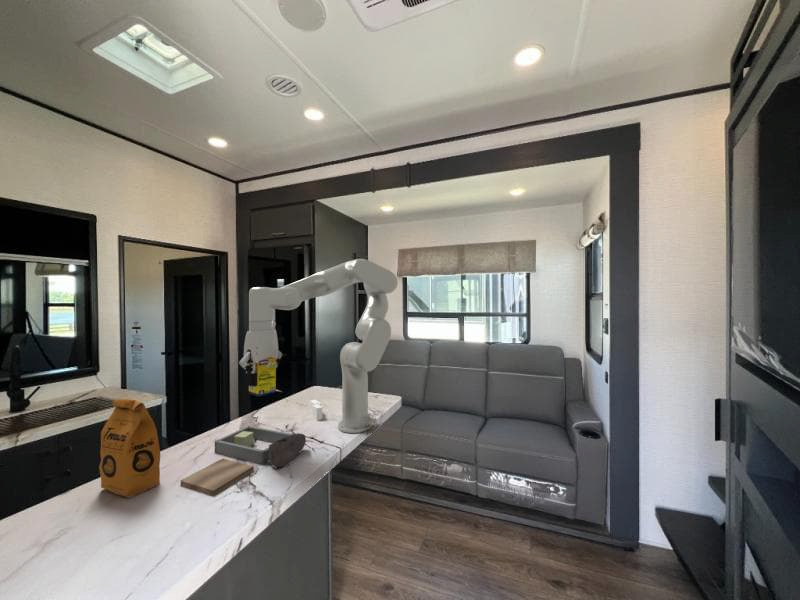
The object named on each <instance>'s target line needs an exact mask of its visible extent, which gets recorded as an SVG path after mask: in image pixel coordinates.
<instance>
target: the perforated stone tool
mask: <svg viewBox="0 0 800 600" xmlns="http://www.w3.org/2000/svg"><path fill="white" fill-rule="evenodd" d="M292 434H293V435H290V436H287V437H284V438H282V439H280V440H277V441H276V442H274V443H273V442H271V444H269V446H268V447H269V458H270V459H271V460H270V466H272V467H274V468H275V469H277V468H280V467H283V466H286V464H287V463H289V462H291V461H292V460H293V459H295V458H296V457H297V456H298V455H299V454H300V453H301V452H302V451H303V449H304V448H305V445H306V441H307V439H306V438H307V437H306V436H305V434H303V433H292Z"/></svg>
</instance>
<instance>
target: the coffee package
mask: <svg viewBox="0 0 800 600" xmlns="http://www.w3.org/2000/svg"><path fill="white" fill-rule="evenodd" d="M112 406H113V407H115V408H114V409H113V410H112V413H111V414H110V416H109V418H108V420H107V421H106V422H105V424H104V426H103V428H102V430H101V431H100V453H99V454H100V463H99V467H98V470H99V475H100V487H101V489H104V490H107V491H109V492H111V493H114V494H116V495H118V496H121V497H126V498H129V499H130V498H132V497H134V496H135V495H138V494H141V493H143V492H144V491H146V490H149V489H151V488H154V487H156V486H157V485H160V483H161V482H160V481H161V480H160V478H161V477H160V476H161V475H160V473H161V472H160V463H161V450H160V442H159V437H158V436H159V435H158V430H157V427H156V424H155V422H154V420H153V418H152V417H151V415H150V412H149V411H148V409H147V408H146V406H145V403H143V402H140V401H138V400H137V399H128V398H127V399H126V398H120V397H118V398H116V399H115V400H113V401H112Z"/></svg>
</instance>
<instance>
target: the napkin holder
mask: <svg viewBox="0 0 800 600" xmlns="http://www.w3.org/2000/svg"><path fill="white" fill-rule="evenodd" d="M309 412H310V413H311V414H312V418H313V419H314V418H315V419H316V420H317V421H321V419H322V420H323V406H322V403H321V402H320V401H318V400H317V399H311V400H309ZM315 419H314V420H315ZM316 420H315V421H316Z"/></svg>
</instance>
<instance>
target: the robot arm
mask: <svg viewBox="0 0 800 600" xmlns="http://www.w3.org/2000/svg"><path fill="white" fill-rule="evenodd" d="M356 283H357V284H358V283H363V288H364V290H365V293H366V295H367V302H366V306H365V309H364V311H363V312H362V315H361V317H360V318H359V321H358V323H357V325H356V327H355V335H356V337H357V338H358V339H359V340H360V341H362V342H358V341H352V342H348V343H345V345H343V347H342V348H341V350H340V355H339V361H340V368H341V373H342V374H341V375H342V378H341V379H342V383H341V384H342V385H341V386H342V388H341V389H342V420H341V421H339V422H338V425H337V427H338V429H339V430H340V432H343V433H346V434H347V433H348V434H351V433H352V434H358V433H364V432H366V431H368V430H370V429H371V428H373V427H376V426H378V421H377V420H378V419H377V418H373V417H371V413H369V396H368V395H369V377H368V376H369V375H368V373H369V372H371V371H373V370H374V369H376V368H377V367H378V365H379V364H380V361H381V359H382V356H383V355H384V353H385V351H386V349H387V346H388V344H389V342H390V339H391V335H392V327H391V324H390V322H388V320H387V319H385V318H386V316H387V313H388V310H389V301H388V296H387V294H391V293H393V292H394V291H396V289H397V288H398V285H399V284H398V283H399V282H398V277H397V275H395V273H394V272H392V271H391V270H390V269H387V268H385V267H384V266H381V265H378V264H376V263H375V262H372V261H370V260H368V259H365V258H356V259H352V260H348V261H345V262H342V263H340V264H338V265H335V266H332V267H330V268H327V269H325V270H322V271H319V272H316V273H314V274H312V275H310V276H307V277H305V278H302V279H300V280H297V281H295V282H292V283H289V284H286V285H284V286H281V287H267V286H262V287H261V286H256V287H255V286H254V287H251V288H250V289H249V291H248V331H246V334H245V338H244V345H243V357H242V358H241V359H240V360H239V362H238V364H239V365H240V366H241V368H242V370H244V371H245V373H246V374H247V386H248V387H249V386H254V387H255V386H257V373H255V372H256V369H257V364H258V362H259V361H261V360H265V359H269V358H276V369H277V368H278V365H279V363H280V361H281V358H282V357H283V353H282V352H281V351H280V350H279V340H278V333H277V330H276V325H277V322H276V310H282V311H283V310H284V311H291V310H295V309H297V308H298V307H300V306H301V304H302V302H304V301H307V300H311V299H314V298H320V297H325V296H328V295H331V294H333V293H335V292H337V291H340V290H342V289H344V288H346V287H350V286H351V285H354V284H356ZM252 365H253V367H252ZM251 367H252V368H251Z"/></svg>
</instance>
